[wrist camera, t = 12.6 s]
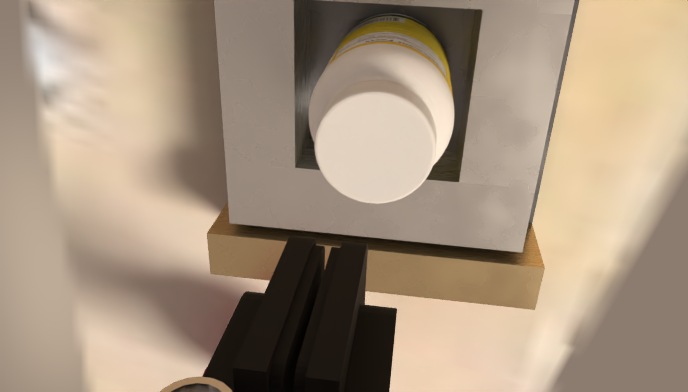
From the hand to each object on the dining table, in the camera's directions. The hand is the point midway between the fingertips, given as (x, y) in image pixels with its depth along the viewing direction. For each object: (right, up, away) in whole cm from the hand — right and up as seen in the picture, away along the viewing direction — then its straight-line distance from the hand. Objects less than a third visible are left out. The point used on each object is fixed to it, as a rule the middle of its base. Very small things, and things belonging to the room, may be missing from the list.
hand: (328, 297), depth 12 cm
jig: (+2, +8, +16) cm, 18 cm away
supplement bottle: (+3, +8, +15) cm, 17 cm away
